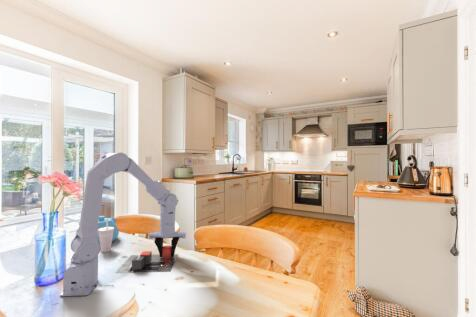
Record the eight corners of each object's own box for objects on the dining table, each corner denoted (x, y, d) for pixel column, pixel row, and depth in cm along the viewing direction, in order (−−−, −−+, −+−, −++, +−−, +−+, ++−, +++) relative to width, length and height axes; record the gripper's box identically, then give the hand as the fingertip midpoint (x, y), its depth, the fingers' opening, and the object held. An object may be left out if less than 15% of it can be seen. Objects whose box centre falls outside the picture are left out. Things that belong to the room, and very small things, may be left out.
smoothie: (117, 248, 105) (117, 217, 105) (107, 253, 99) (108, 221, 99) (103, 247, 106) (104, 217, 106) (93, 252, 99) (94, 220, 99)
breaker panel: (170, 274, 81) (170, 268, 81) (114, 276, 79) (114, 270, 79) (178, 257, 96) (178, 251, 96) (131, 258, 94) (131, 252, 94)
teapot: (98, 250, 102) (98, 222, 102) (61, 247, 106) (61, 219, 106) (128, 236, 121) (128, 212, 121) (95, 234, 125) (96, 210, 125)
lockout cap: (171, 259, 91) (171, 248, 91) (160, 259, 91) (160, 249, 91) (173, 254, 95) (173, 245, 95) (163, 255, 95) (163, 245, 95)
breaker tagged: (148, 264, 85) (149, 254, 85) (140, 264, 85) (140, 254, 85) (151, 260, 88) (151, 251, 88) (142, 260, 88) (143, 251, 88)
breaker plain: (141, 269, 81) (141, 259, 81) (131, 269, 81) (132, 260, 81) (144, 265, 84) (144, 256, 84) (135, 265, 84) (135, 256, 84)
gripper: (187, 219, 98) (186, 251, 97) (152, 220, 96) (151, 252, 96) (184, 224, 90) (184, 258, 90) (146, 224, 89) (146, 259, 89)
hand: (167, 256), depth 93 cm, fingers closed on lockout cap, 4 cm apart
